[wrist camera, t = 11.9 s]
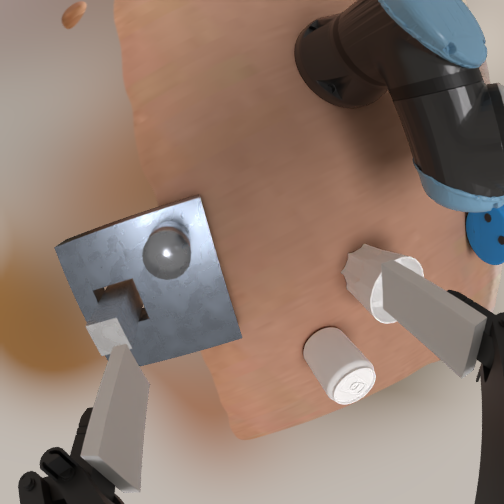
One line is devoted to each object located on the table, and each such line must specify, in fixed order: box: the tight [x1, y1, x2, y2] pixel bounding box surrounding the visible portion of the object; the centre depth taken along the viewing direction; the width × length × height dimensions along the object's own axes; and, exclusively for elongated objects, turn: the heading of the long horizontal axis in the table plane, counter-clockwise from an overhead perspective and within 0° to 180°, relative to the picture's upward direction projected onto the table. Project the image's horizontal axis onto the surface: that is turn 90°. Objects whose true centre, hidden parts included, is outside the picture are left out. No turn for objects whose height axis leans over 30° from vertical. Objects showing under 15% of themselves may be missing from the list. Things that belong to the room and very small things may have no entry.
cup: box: [341, 244, 424, 324], centre depth 42 cm, size 10×10×10 cm
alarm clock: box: [466, 205, 504, 265], centre depth 43 cm, size 13×6×15 cm, turn 19°
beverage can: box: [303, 327, 376, 404], centre depth 43 cm, size 8×8×12 cm
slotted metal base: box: [55, 195, 242, 366], centre depth 35 cm, size 20×20×10 cm
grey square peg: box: [86, 278, 143, 356], centre depth 33 cm, size 4×4×12 cm
